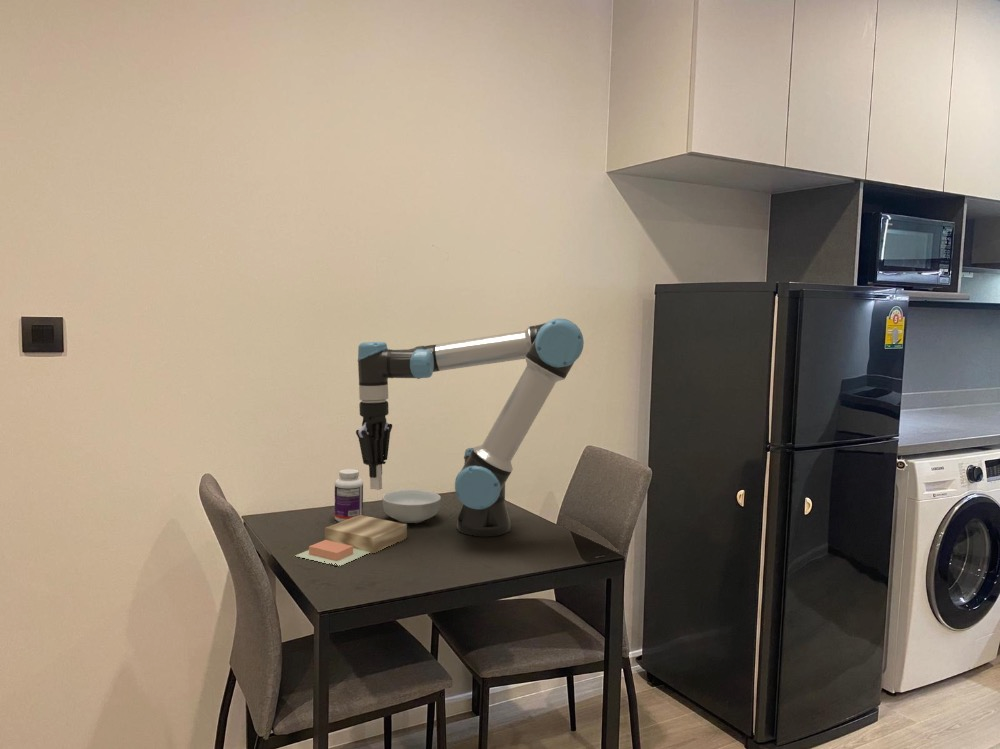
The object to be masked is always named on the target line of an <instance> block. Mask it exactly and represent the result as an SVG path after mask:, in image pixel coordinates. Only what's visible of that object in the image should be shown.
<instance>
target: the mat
mask: <svg viewBox="0 0 1000 749" xmlns="http://www.w3.org/2000/svg"><path fill="white" fill-rule="evenodd" d="M369 553H370V554H372V553H371V552H368V551H364V550H360V549H355V548H353V554H352V555H350V556H347V557H345V558H343V559H341V560H338V561H335V560H331V559H327V558H322V557H318V556H314V555H310V554H309V549H307V550H305V551H303V552H300V553H298V554H296V555H294V557H295V556H296V557H295V558H297V557H300V558H299V559H302V558H305V559H304V560H306V559H309V560H308V561H310V560H314V561H318V562H322V563H326V564H329V563H330V564H331V563H332V564H333V565H334V564H335V563H336V564H337V565H338V566H339V565H340V566H341V565H344V564H346V563H348V562H350V563H352V562H351V561H353V560H355V559H357V560H359V559H361V558H363V557H362V556H364V555H366V554H368V555H370V554H369ZM366 556H367V555H366ZM360 557H361V558H360ZM364 557H365V556H364ZM358 558H359V559H358ZM314 561H313V562H314ZM324 561H325V562H324ZM355 561H356V560H355ZM318 562H317V563H318ZM353 562H354V561H353ZM322 563H321V564H322ZM326 564H325V565H326ZM336 564H335V565H336ZM348 564H349V563H348ZM346 565H347V564H346ZM344 566H345V565H344Z"/></svg>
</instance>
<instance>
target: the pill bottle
mask: <svg viewBox="0 0 1000 749" xmlns="http://www.w3.org/2000/svg"><path fill="white" fill-rule="evenodd" d="M338 474H339V478H337V479H336V480H335V482H334V519H335V521H337V523H339V522H342V521H345V520H347V519H350V518H353V517H355V516H358V515H363V516H364V481H363V479H362V478H360V477H359V476H360V472H359V470H357V469H354V468H346V469H341V470H339V472H338Z"/></svg>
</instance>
